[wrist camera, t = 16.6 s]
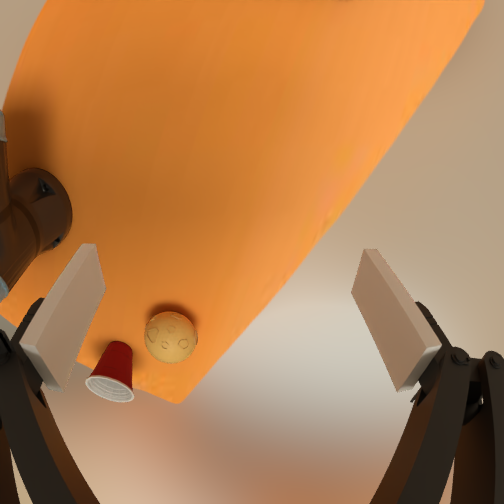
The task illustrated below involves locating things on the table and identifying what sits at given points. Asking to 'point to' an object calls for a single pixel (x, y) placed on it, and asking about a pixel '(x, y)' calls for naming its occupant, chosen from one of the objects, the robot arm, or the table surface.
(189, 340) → the stress ball
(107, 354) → the plastic cup
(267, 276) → the table surface
